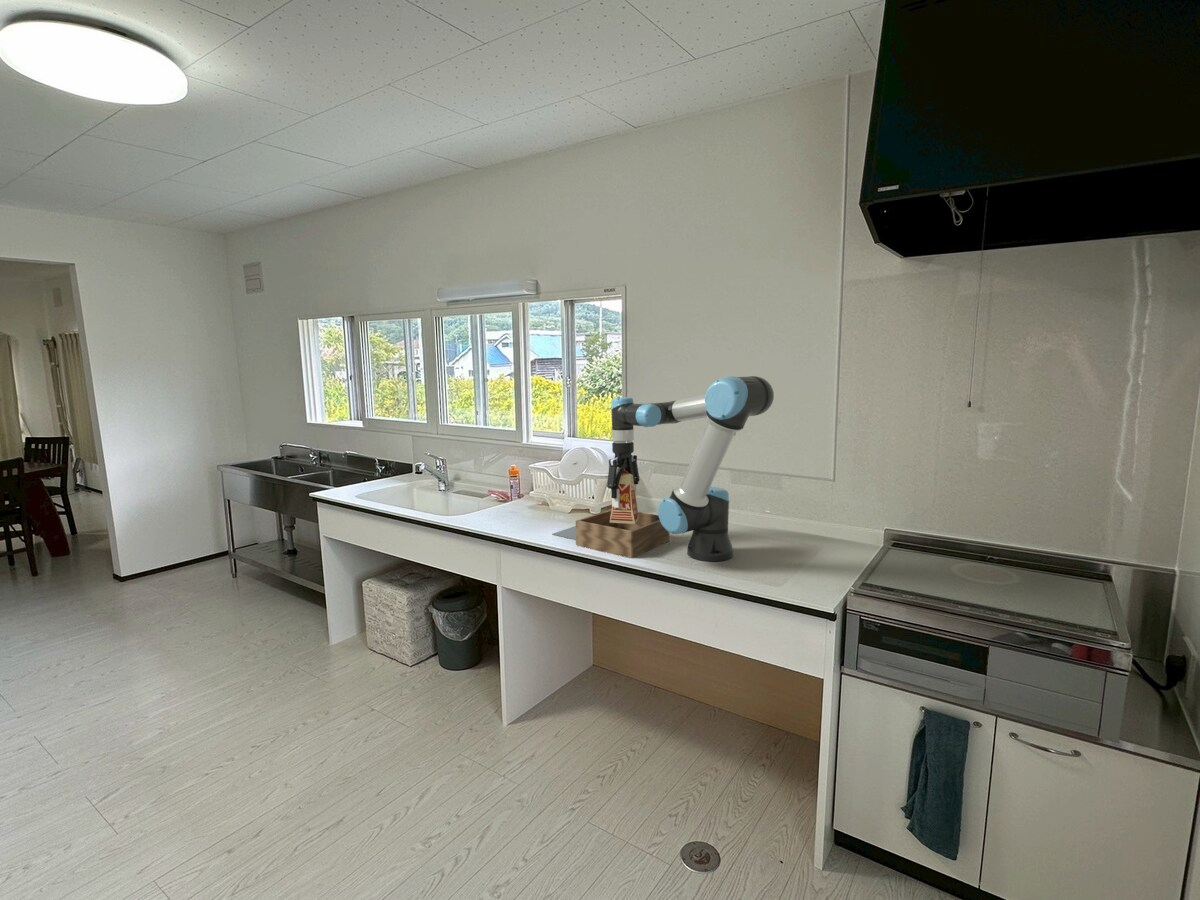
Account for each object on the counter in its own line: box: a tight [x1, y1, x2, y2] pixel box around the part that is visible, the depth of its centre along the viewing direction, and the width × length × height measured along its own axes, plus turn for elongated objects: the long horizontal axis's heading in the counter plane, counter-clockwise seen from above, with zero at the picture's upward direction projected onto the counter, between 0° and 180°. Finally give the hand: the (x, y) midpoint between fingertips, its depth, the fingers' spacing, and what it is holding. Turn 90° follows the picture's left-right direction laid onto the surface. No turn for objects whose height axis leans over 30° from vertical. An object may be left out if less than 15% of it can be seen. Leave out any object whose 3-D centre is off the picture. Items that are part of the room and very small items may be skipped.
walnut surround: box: [575, 508, 670, 559], centre depth 219 cm, size 24×24×9 cm
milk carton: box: [609, 468, 639, 524], centre depth 216 cm, size 9×9×20 cm
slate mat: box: [551, 525, 576, 541], centre depth 232 cm, size 14×14×1 cm
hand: (624, 504), depth 217 cm, fingers closed on milk carton, 9 cm apart
